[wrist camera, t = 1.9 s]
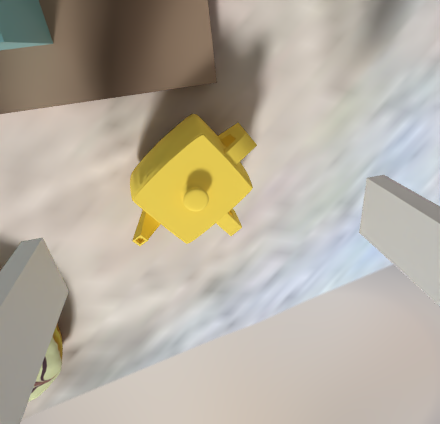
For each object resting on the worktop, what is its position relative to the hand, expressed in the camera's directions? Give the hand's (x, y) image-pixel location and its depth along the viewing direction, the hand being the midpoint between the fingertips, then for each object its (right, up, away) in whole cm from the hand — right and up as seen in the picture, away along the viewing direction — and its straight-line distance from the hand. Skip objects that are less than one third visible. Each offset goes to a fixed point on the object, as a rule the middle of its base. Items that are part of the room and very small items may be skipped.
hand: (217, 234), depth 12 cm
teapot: (-2, +3, +6) cm, 7 cm away
